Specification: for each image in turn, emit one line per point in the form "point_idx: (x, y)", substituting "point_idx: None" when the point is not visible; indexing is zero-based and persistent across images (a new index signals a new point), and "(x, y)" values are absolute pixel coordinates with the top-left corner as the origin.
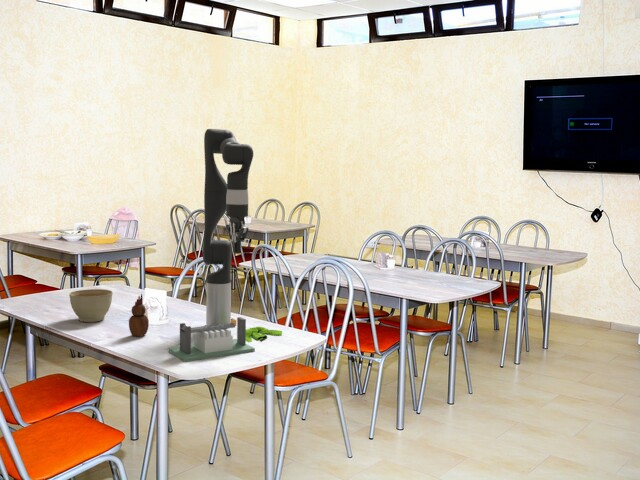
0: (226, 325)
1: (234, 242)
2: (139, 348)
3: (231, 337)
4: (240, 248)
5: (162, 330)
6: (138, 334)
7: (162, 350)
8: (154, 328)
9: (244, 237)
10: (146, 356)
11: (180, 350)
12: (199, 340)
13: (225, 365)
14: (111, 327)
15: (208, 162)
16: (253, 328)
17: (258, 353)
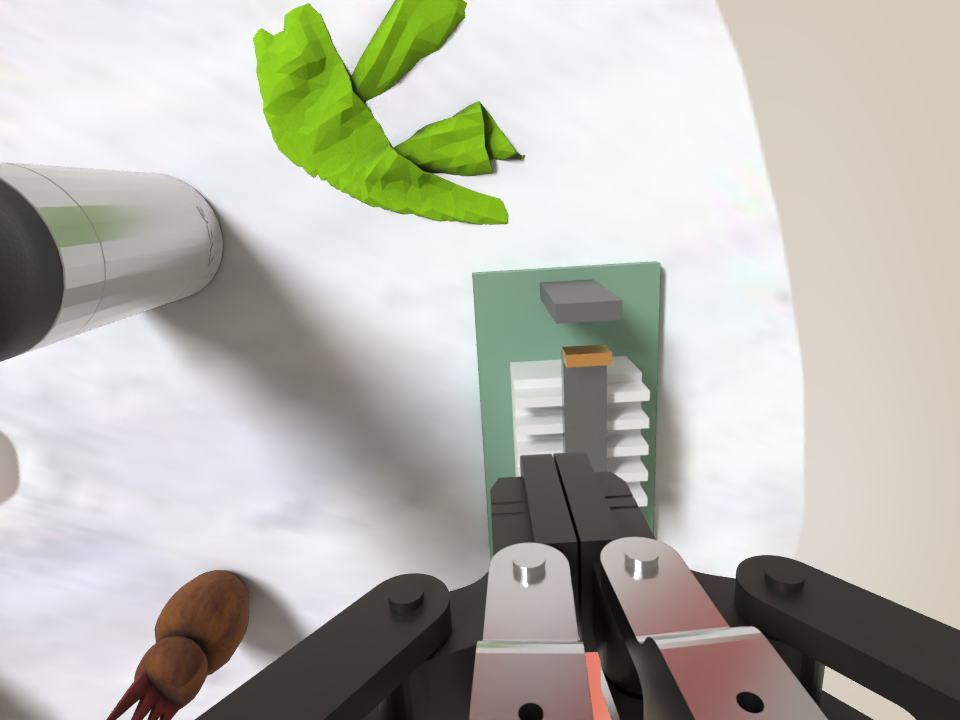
0: (604, 400)
1: (588, 648)
2: None
3: (640, 377)
4: (596, 481)
5: (166, 490)
6: (248, 605)
7: (473, 571)
8: (121, 509)
9: (916, 636)
10: None
11: None
12: None
13: (769, 442)
14: (59, 644)
15: None
16: (291, 93)
17: (694, 260)
